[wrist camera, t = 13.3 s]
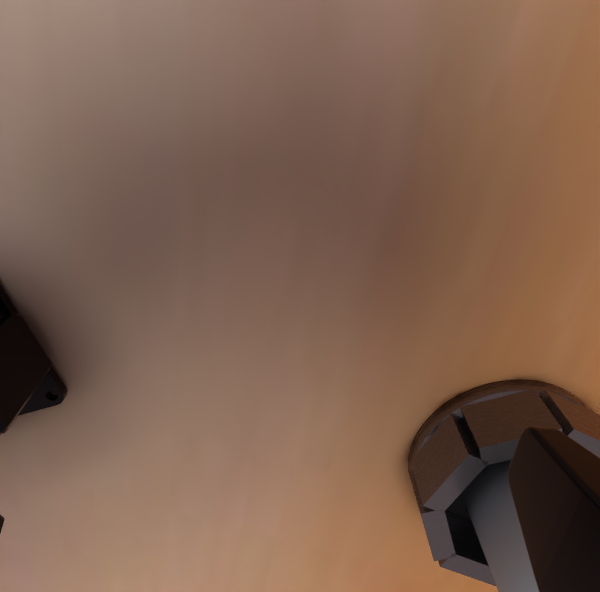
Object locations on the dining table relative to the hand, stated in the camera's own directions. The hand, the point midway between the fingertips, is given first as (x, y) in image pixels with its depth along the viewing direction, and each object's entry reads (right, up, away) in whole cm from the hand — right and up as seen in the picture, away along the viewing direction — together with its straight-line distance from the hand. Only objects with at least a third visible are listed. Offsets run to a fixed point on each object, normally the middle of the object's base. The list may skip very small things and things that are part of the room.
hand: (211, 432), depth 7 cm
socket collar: (+11, -6, +18) cm, 22 cm away
